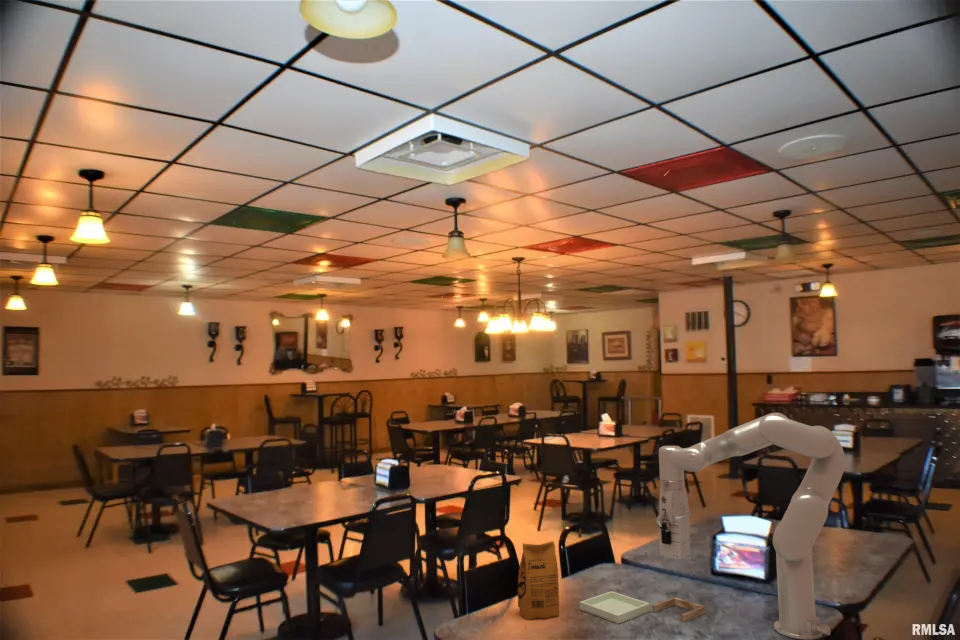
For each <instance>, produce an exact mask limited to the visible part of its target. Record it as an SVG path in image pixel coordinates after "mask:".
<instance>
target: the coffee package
mask: <svg viewBox="0 0 960 640" xmlns="http://www.w3.org/2000/svg"><path fill="white" fill-rule="evenodd" d="M521 553H522V556H521V558H520V559H521V560H520V564H519V569H518V579H517V580H518V581H517V607H518V608H519V609H518V610H519V612H520V614H521V616H522V618H523V619H525V620H527V621H530V620H531V621H532V620H534V619H543V620H547V619H551V618H554V617H559V616H560V592H559V589H560V588H559V586H560V584H559V568H558V561H557V554H556V545H555V542H554V541H553V540H552V541H548V542H545V543H541V544H532V543H522V552H521Z"/></svg>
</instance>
